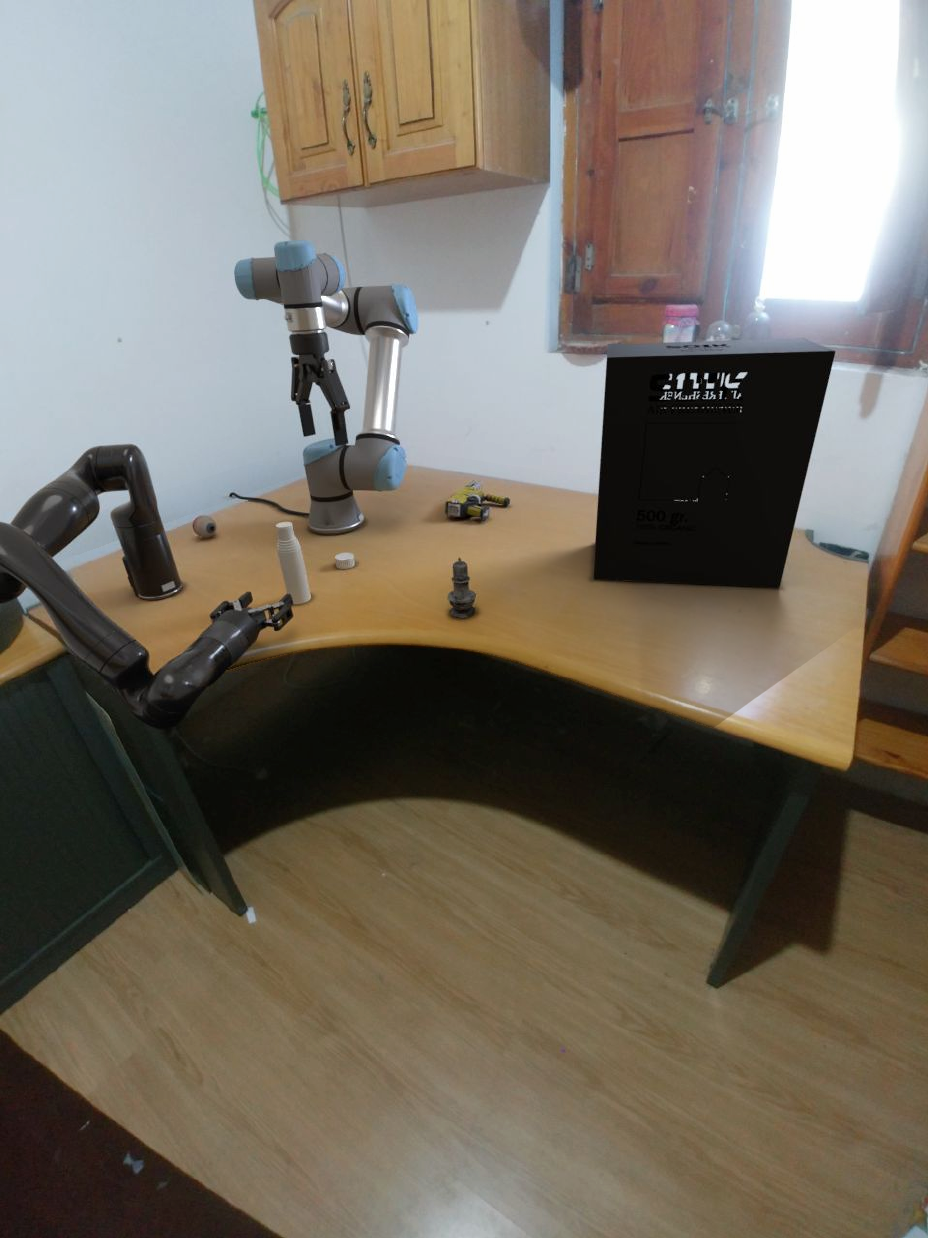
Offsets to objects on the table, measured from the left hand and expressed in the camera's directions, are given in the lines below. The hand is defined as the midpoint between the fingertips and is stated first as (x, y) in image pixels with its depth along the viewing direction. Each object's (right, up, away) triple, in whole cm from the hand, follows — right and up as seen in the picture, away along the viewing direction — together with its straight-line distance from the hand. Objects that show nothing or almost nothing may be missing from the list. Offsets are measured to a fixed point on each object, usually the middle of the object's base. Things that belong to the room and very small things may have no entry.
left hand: (270, 596), depth 119 cm
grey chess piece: (+38, -3, +4) cm, 38 cm away
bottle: (+3, 0, +12) cm, 13 cm away
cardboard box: (+87, +8, +18) cm, 89 cm away
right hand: (+8, +35, +12) cm, 37 cm away
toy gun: (+44, +28, +57) cm, 77 cm away
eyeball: (-32, +18, +47) cm, 60 cm away
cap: (+10, +10, +26) cm, 29 cm away
